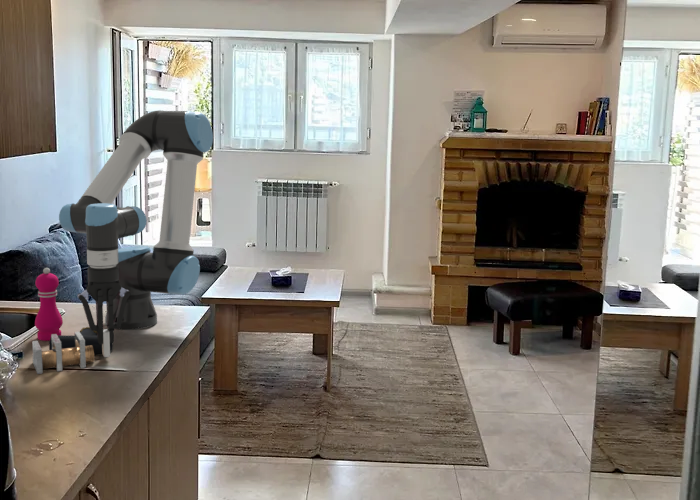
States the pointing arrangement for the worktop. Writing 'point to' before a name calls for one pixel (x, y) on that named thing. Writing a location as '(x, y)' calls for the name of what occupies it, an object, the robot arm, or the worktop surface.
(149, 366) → the worktop surface
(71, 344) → the pipe connector
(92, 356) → the tube
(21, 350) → the worktop surface
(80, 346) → the grey slatted rack
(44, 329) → the pepper mill
